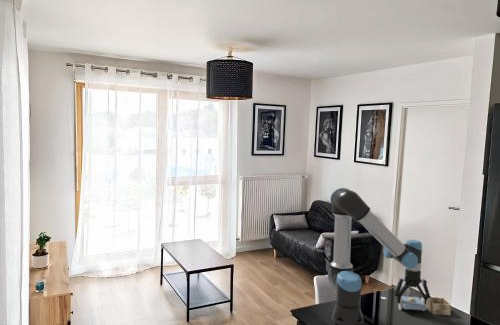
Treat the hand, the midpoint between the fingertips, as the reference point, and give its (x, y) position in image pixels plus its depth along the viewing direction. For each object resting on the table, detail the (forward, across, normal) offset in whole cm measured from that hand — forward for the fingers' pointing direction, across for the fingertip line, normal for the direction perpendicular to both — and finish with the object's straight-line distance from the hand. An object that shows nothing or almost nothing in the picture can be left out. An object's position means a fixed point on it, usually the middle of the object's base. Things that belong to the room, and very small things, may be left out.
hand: (411, 309), depth 194 cm
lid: (-3, 0, 0) cm, 3 cm away
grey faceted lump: (+1, +1, +17) cm, 17 cm away
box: (+1, +14, 0) cm, 14 cm away
